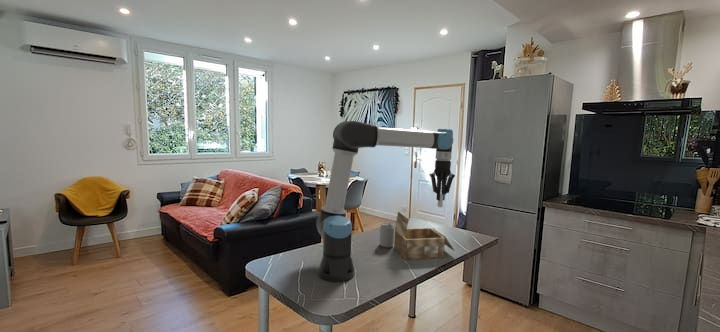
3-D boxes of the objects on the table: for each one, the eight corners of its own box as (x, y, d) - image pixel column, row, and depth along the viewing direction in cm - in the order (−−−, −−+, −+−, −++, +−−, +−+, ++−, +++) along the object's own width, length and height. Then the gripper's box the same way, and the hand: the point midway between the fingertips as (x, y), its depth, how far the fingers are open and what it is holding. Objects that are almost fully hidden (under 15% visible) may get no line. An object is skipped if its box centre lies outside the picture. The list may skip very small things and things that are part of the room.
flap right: (454, 250, 157) (453, 251, 157) (441, 241, 171) (441, 241, 171) (445, 236, 155) (444, 237, 155) (432, 227, 169) (432, 228, 169)
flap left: (404, 237, 151) (403, 237, 151) (395, 228, 165) (394, 228, 164) (408, 218, 150) (407, 218, 150) (399, 211, 164) (398, 211, 164)
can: (392, 248, 166) (393, 226, 164) (378, 247, 167) (379, 224, 166) (394, 244, 173) (395, 222, 172) (380, 242, 174) (381, 221, 173)
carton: (405, 260, 150) (406, 240, 149) (393, 247, 167) (394, 229, 166) (444, 258, 155) (445, 238, 154) (429, 246, 171) (430, 227, 170)
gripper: (434, 160, 153) (431, 208, 156) (459, 161, 156) (455, 208, 158) (427, 159, 161) (424, 205, 163) (451, 159, 163) (448, 205, 166)
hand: (439, 206), depth 161 cm, fingers closed
